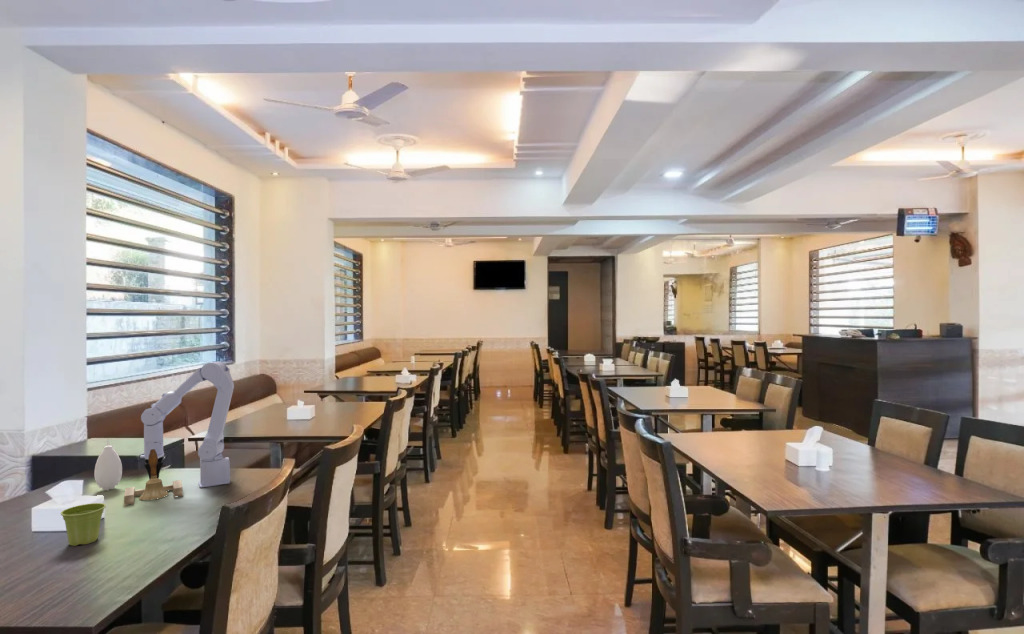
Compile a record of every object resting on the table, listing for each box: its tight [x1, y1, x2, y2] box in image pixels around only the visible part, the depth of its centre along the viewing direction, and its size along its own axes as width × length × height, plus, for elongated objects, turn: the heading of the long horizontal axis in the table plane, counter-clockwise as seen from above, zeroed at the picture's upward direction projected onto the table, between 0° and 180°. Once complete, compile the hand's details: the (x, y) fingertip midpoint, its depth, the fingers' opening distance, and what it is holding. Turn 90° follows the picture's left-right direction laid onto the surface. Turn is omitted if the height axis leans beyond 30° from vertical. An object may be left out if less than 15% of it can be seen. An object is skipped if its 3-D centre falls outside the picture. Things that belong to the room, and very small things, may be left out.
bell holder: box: [123, 479, 184, 506], centre depth 183 cm, size 16×11×3 cm
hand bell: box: [138, 449, 169, 501], centre depth 184 cm, size 8×8×16 cm
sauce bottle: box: [93, 438, 123, 491], centre depth 193 cm, size 8×8×18 cm
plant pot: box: [60, 502, 107, 547], centre depth 144 cm, size 9×9×9 cm
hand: (154, 480), depth 193 cm, fingers open, 7 cm apart
